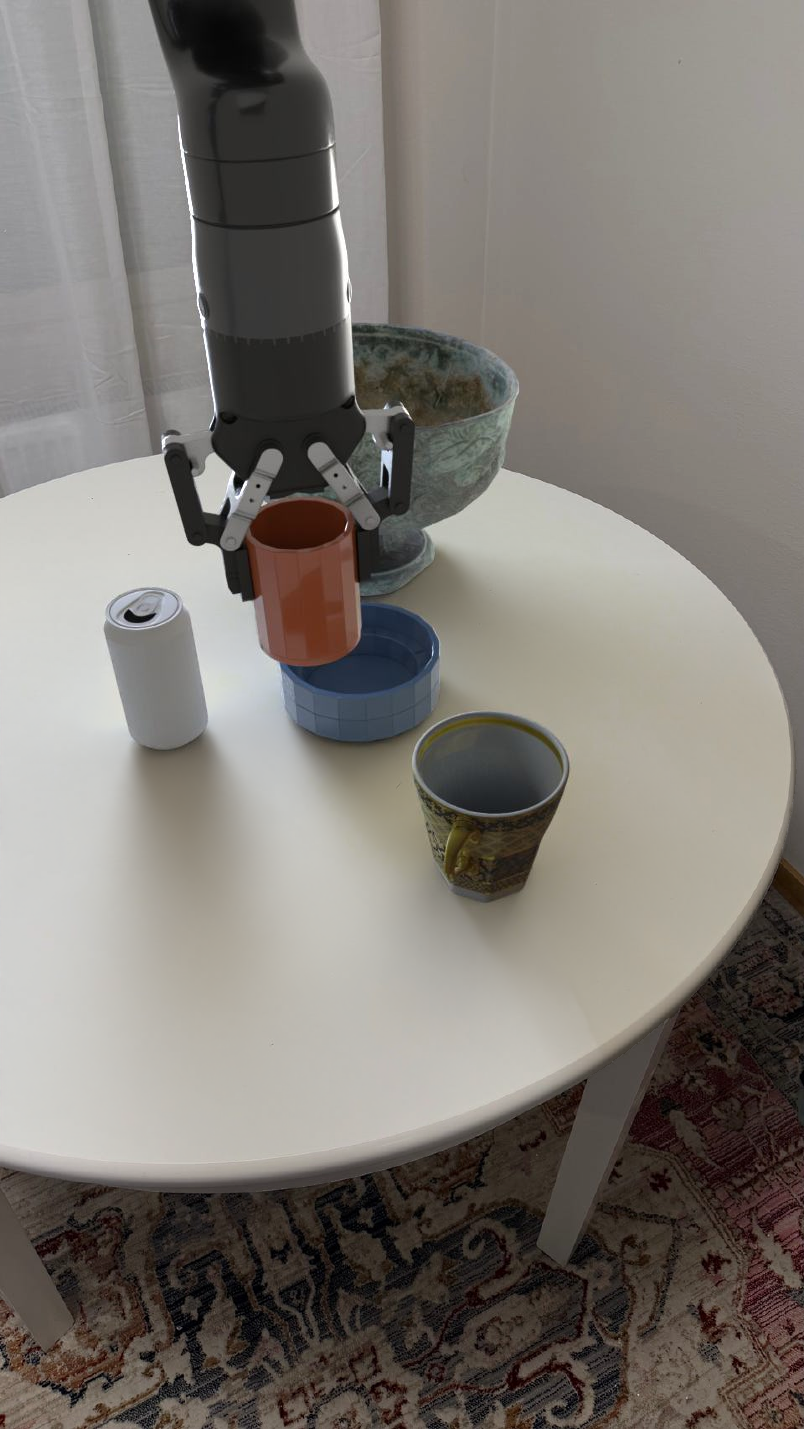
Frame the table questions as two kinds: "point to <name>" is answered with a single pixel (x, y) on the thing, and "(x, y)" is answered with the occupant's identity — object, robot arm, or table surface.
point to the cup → (305, 580)
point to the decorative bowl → (428, 433)
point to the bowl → (369, 680)
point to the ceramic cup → (488, 798)
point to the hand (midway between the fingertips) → (304, 584)
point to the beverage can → (156, 667)
